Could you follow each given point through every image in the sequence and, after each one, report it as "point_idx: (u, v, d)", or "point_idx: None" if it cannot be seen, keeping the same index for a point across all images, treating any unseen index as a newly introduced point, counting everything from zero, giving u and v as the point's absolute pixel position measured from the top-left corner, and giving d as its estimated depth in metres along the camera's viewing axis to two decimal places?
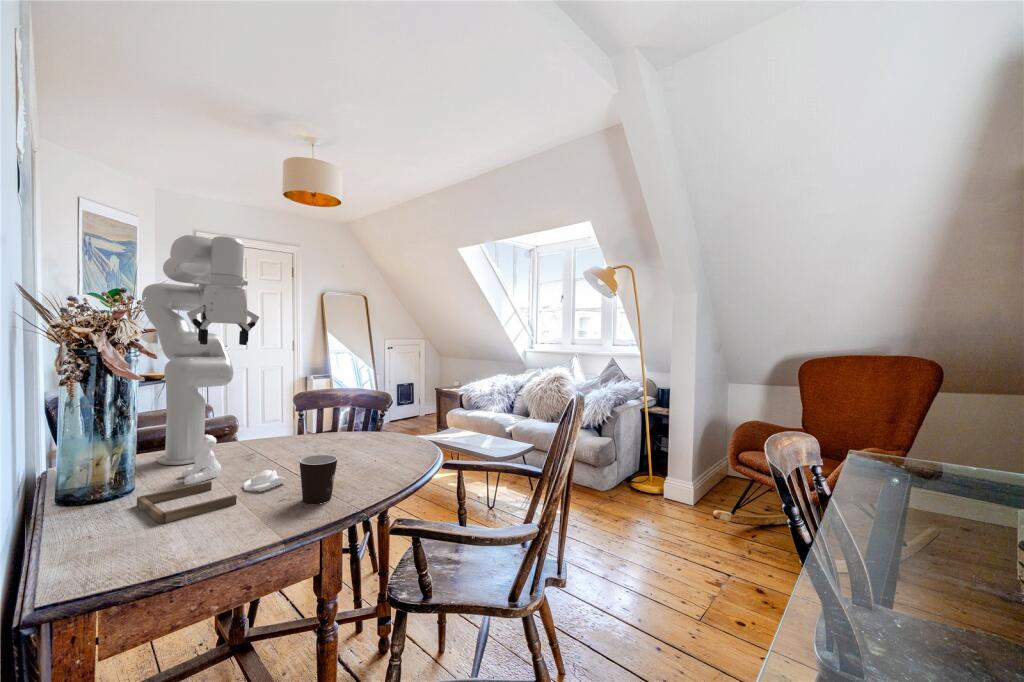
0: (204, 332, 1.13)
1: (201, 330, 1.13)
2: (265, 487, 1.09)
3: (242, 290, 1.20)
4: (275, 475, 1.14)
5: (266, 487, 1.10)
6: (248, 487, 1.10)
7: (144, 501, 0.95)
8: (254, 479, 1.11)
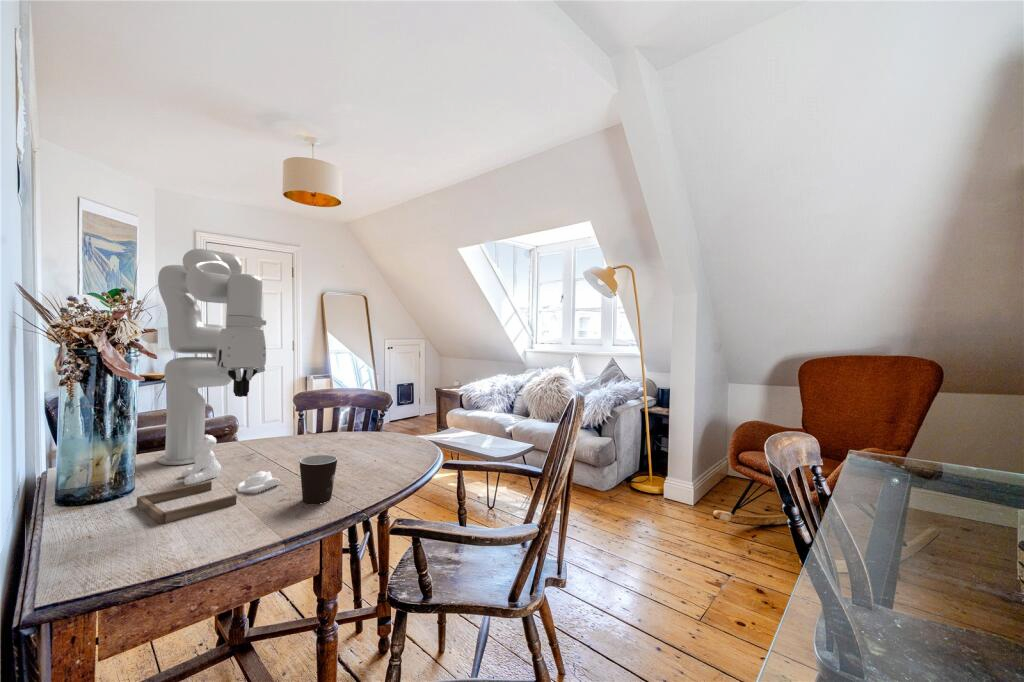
0: (240, 383, 1.07)
1: (237, 382, 1.07)
2: (259, 488, 1.08)
3: (261, 331, 1.10)
4: (269, 476, 1.13)
5: (260, 488, 1.09)
6: (242, 488, 1.09)
7: (144, 501, 0.95)
8: (248, 480, 1.10)
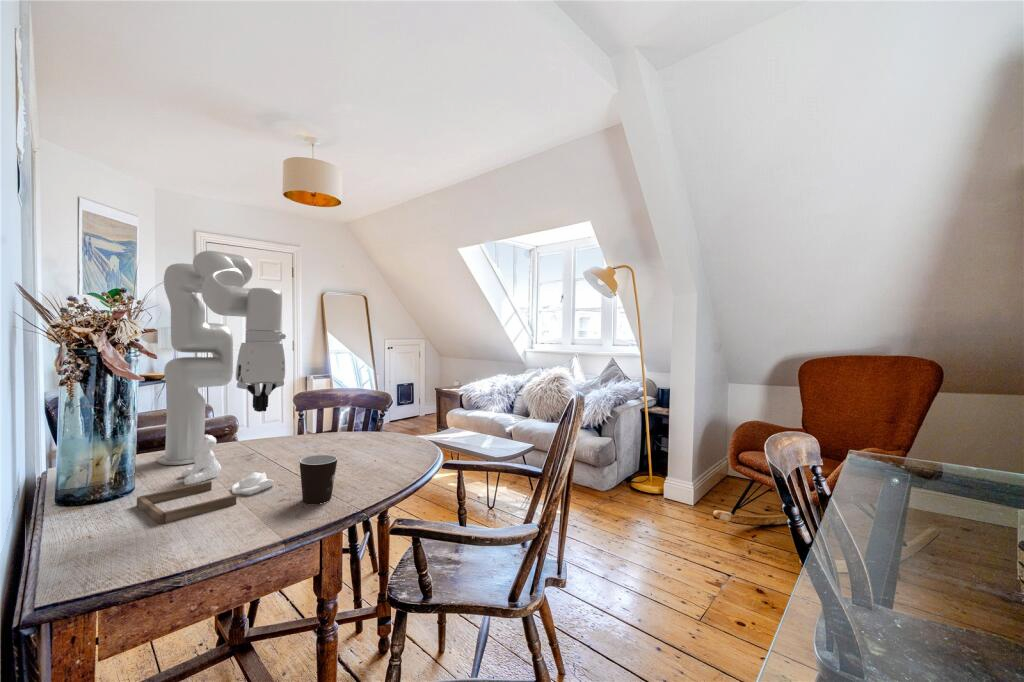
0: (259, 398, 1.06)
1: (256, 396, 1.06)
2: (253, 490, 1.07)
3: (280, 345, 1.09)
4: (264, 478, 1.12)
5: (254, 490, 1.07)
6: (236, 490, 1.08)
7: (144, 501, 0.95)
8: (242, 482, 1.08)
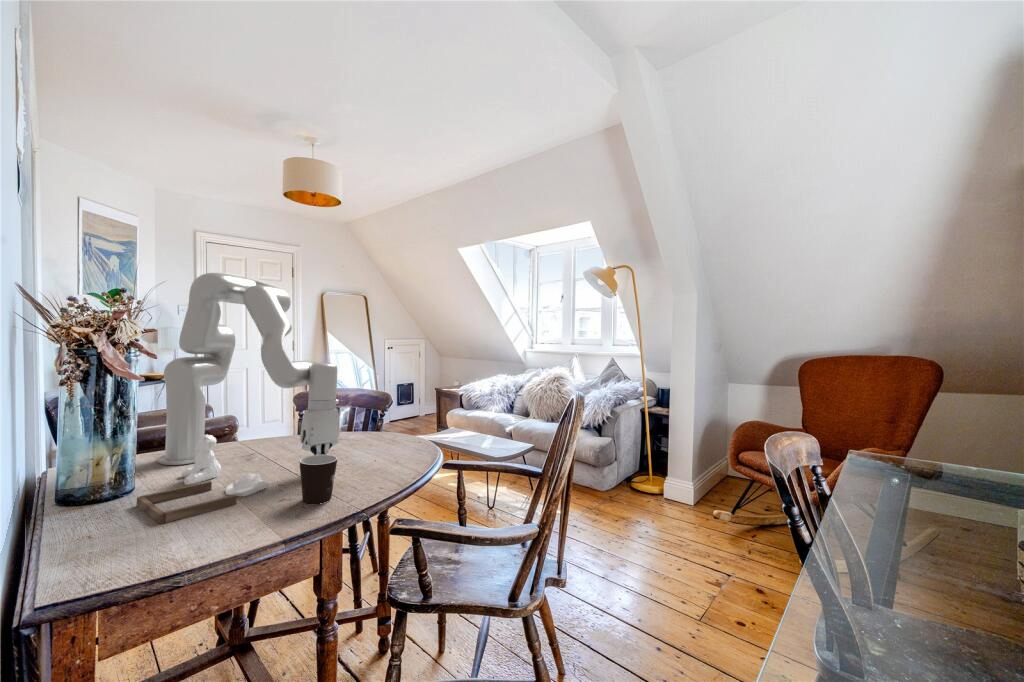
0: None
1: None
2: (247, 491, 1.06)
3: (336, 410, 1.27)
4: (258, 479, 1.10)
5: (248, 491, 1.06)
6: (230, 491, 1.06)
7: (144, 501, 0.95)
8: (236, 483, 1.07)
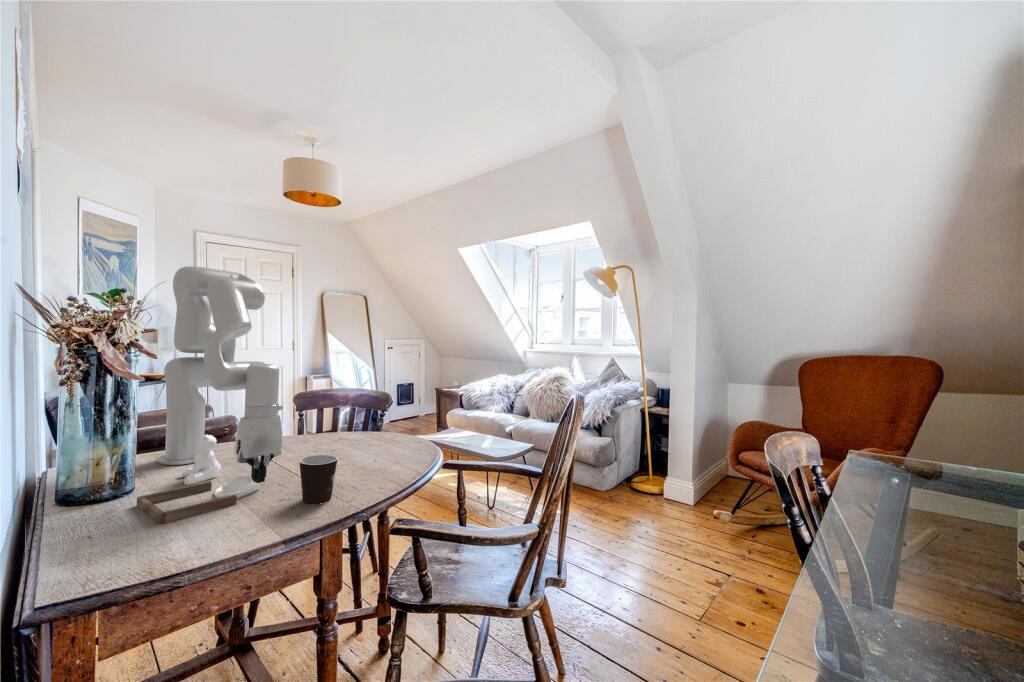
0: (258, 470, 1.11)
1: (255, 469, 1.10)
2: (237, 494, 1.04)
3: (278, 417, 1.13)
4: (248, 481, 1.08)
5: (238, 494, 1.04)
6: (219, 494, 1.04)
7: (144, 501, 0.95)
8: (226, 486, 1.05)
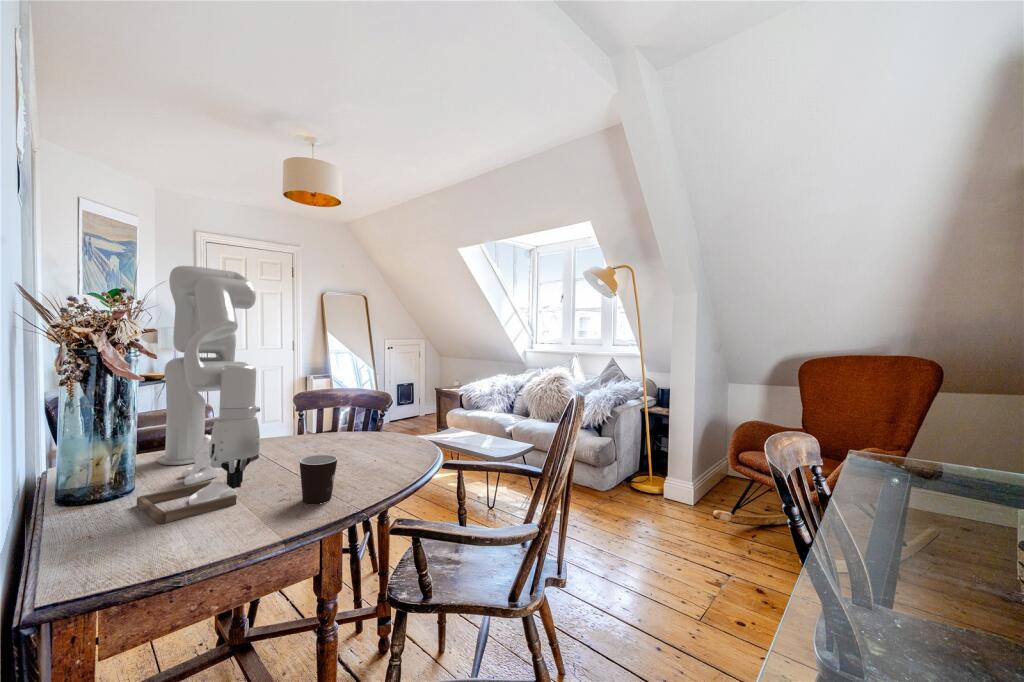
0: (234, 475, 1.06)
1: (230, 474, 1.06)
2: None
3: (255, 420, 1.09)
4: (225, 487, 1.04)
5: None
6: (194, 501, 0.99)
7: (144, 501, 0.95)
8: (201, 492, 1.00)
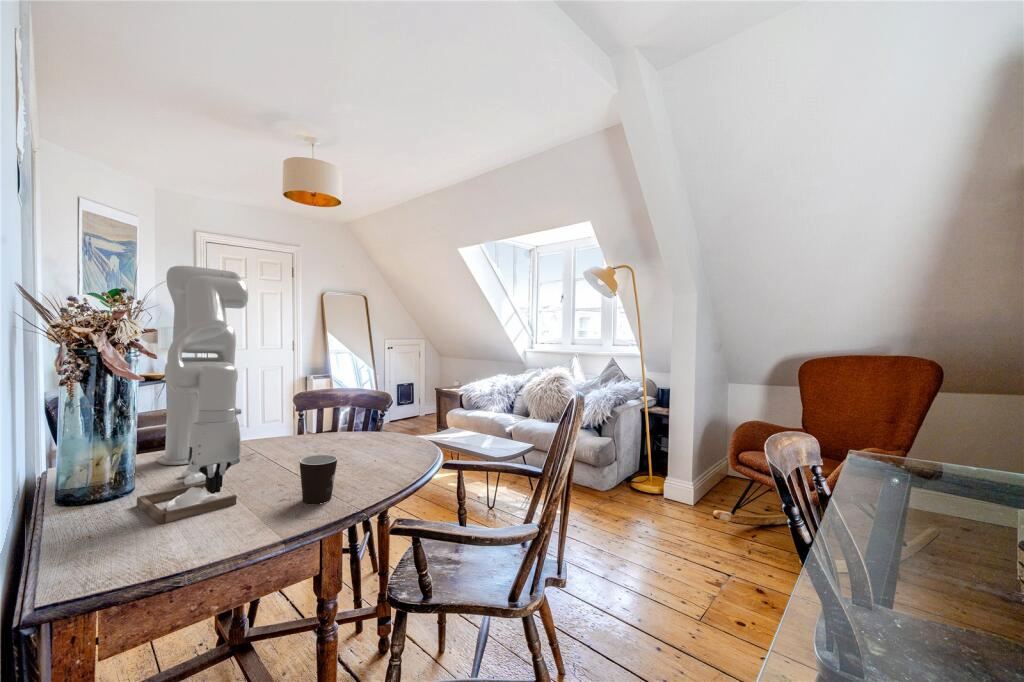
0: (213, 480, 1.02)
1: (209, 478, 1.02)
2: None
3: (235, 423, 1.05)
4: (206, 493, 1.00)
5: None
6: (173, 509, 0.95)
7: (144, 501, 0.95)
8: (180, 499, 0.96)
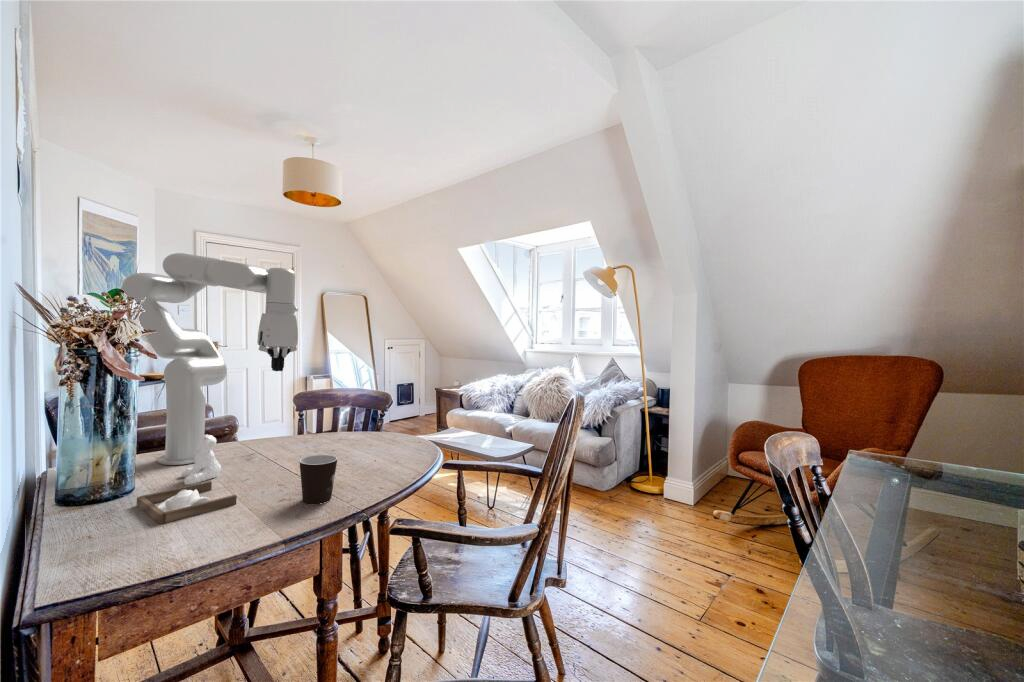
0: (277, 360, 1.27)
1: (274, 358, 1.27)
2: None
3: (294, 316, 1.30)
4: (197, 495, 0.98)
5: None
6: None
7: (144, 501, 0.95)
8: (170, 502, 0.94)
